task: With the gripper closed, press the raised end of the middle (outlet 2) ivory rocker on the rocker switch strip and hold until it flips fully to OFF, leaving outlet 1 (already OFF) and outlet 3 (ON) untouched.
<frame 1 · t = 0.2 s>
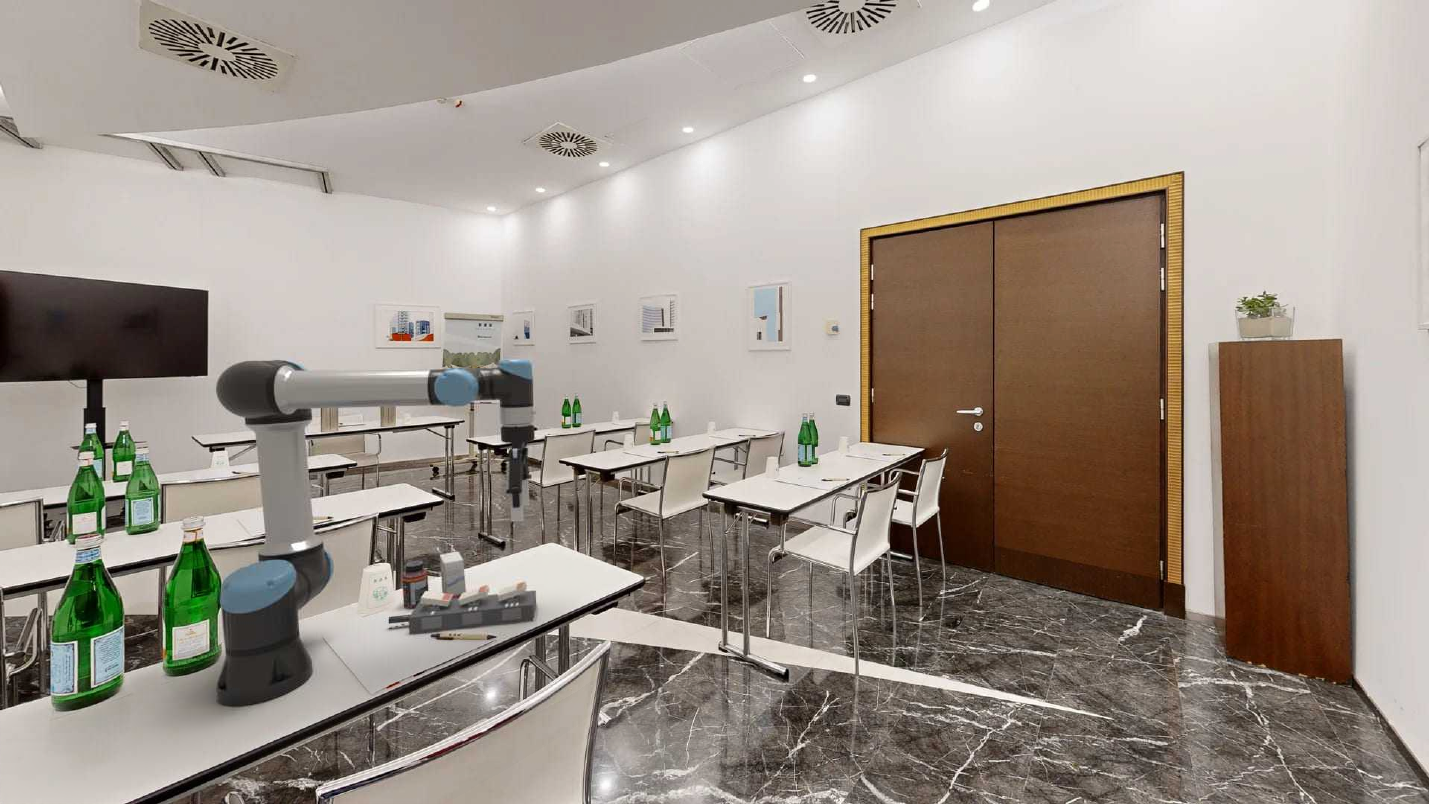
hand: (520, 513, 136), 28 cm above the table, fingers open, 13 cm apart
rocker switch strip: (476, 618, 142), on the table
rocker 3: (512, 591, 143), point 6 cm above the table, hinge at -14.0°
rocker 1: (436, 599, 139), point 6 cm above the table, hinge at 14.0°
rocker 2: (474, 595, 141), point 6 cm above the table, hinge at -14.0°
supplement bottle: (416, 605, 151), on the table
ink box: (454, 600, 154), on the table
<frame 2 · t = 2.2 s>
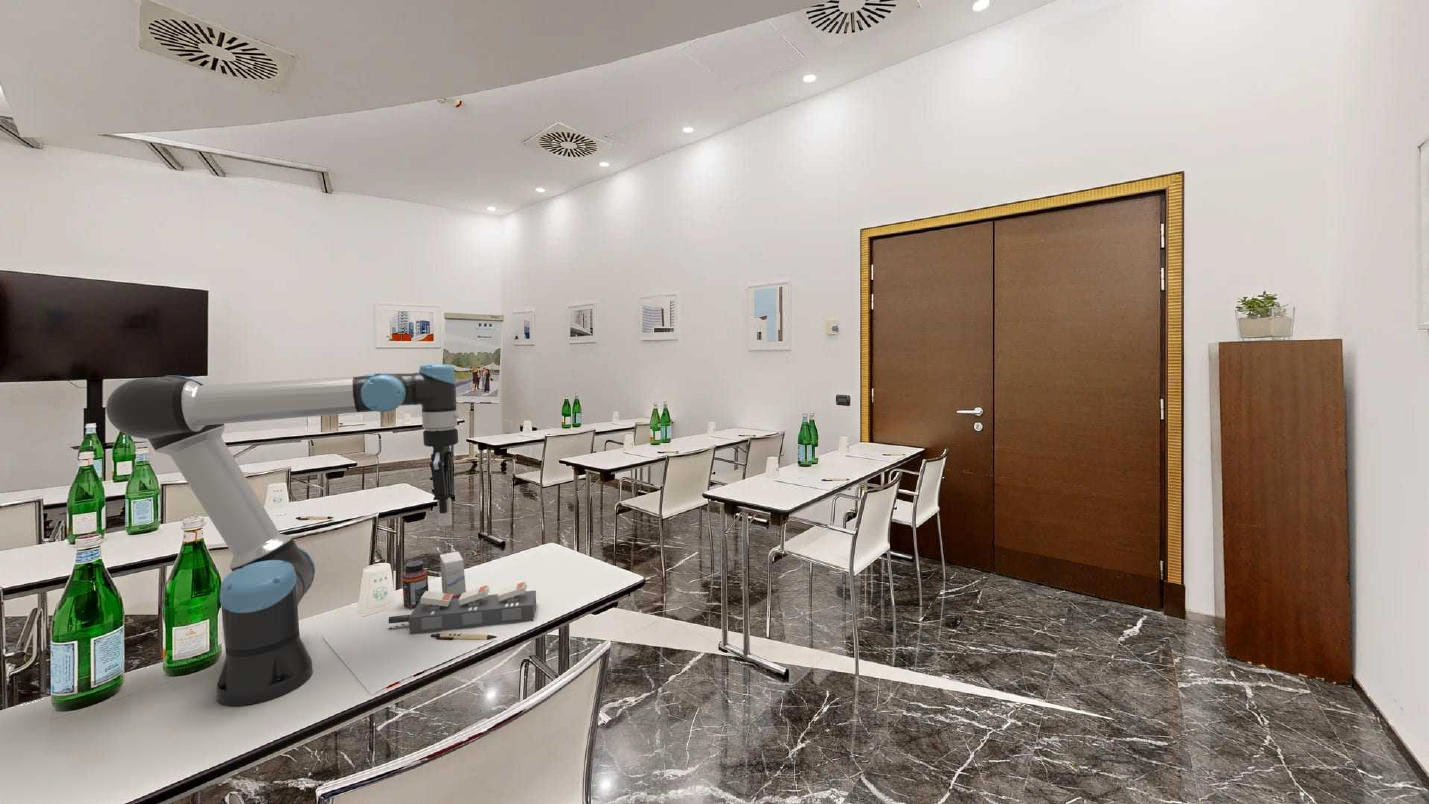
hand: (445, 524, 139), 24 cm above the table, fingers closed
nothing on the table moved.
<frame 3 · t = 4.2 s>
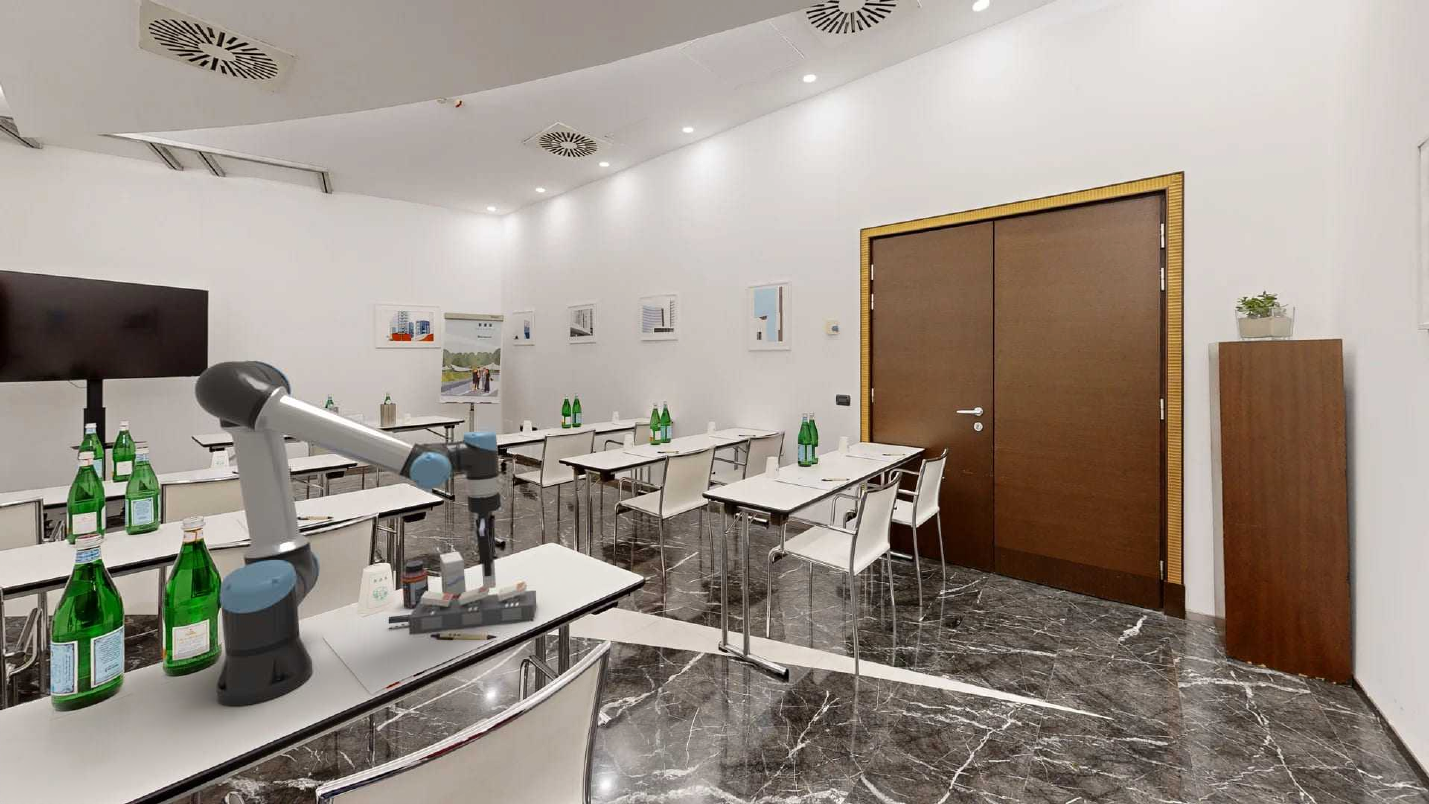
hand: (489, 586, 142), 8 cm above the table, fingers closed
rocker 2: (474, 595, 141), point 6 cm above the table, hinge at -13.1°, touching gripper
everything else where it was.
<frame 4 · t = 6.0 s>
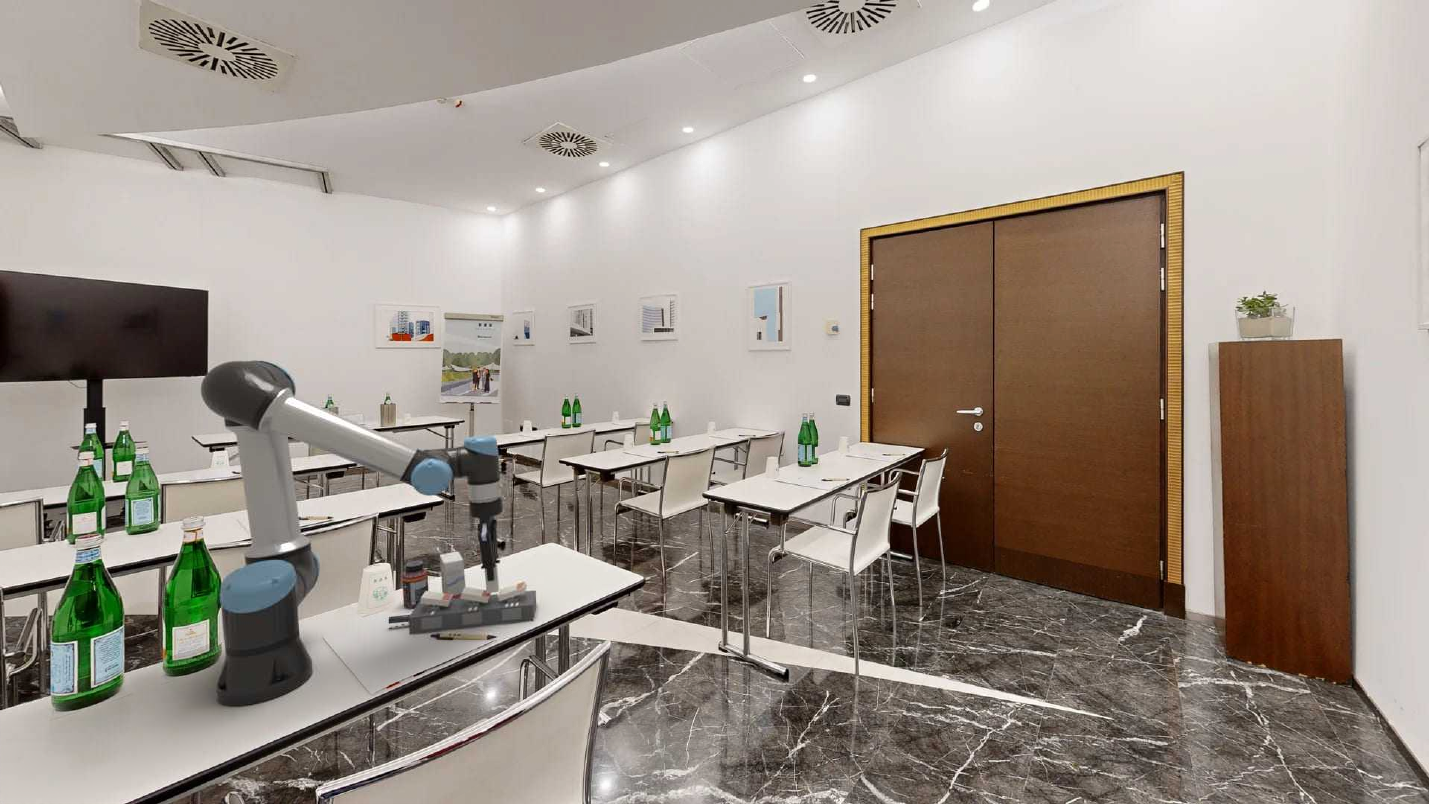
hand: (492, 591, 142), 7 cm above the table, fingers closed
rocker 2: (475, 595, 141), point 6 cm above the table, hinge at 16.9°, touching gripper
everything else where it was.
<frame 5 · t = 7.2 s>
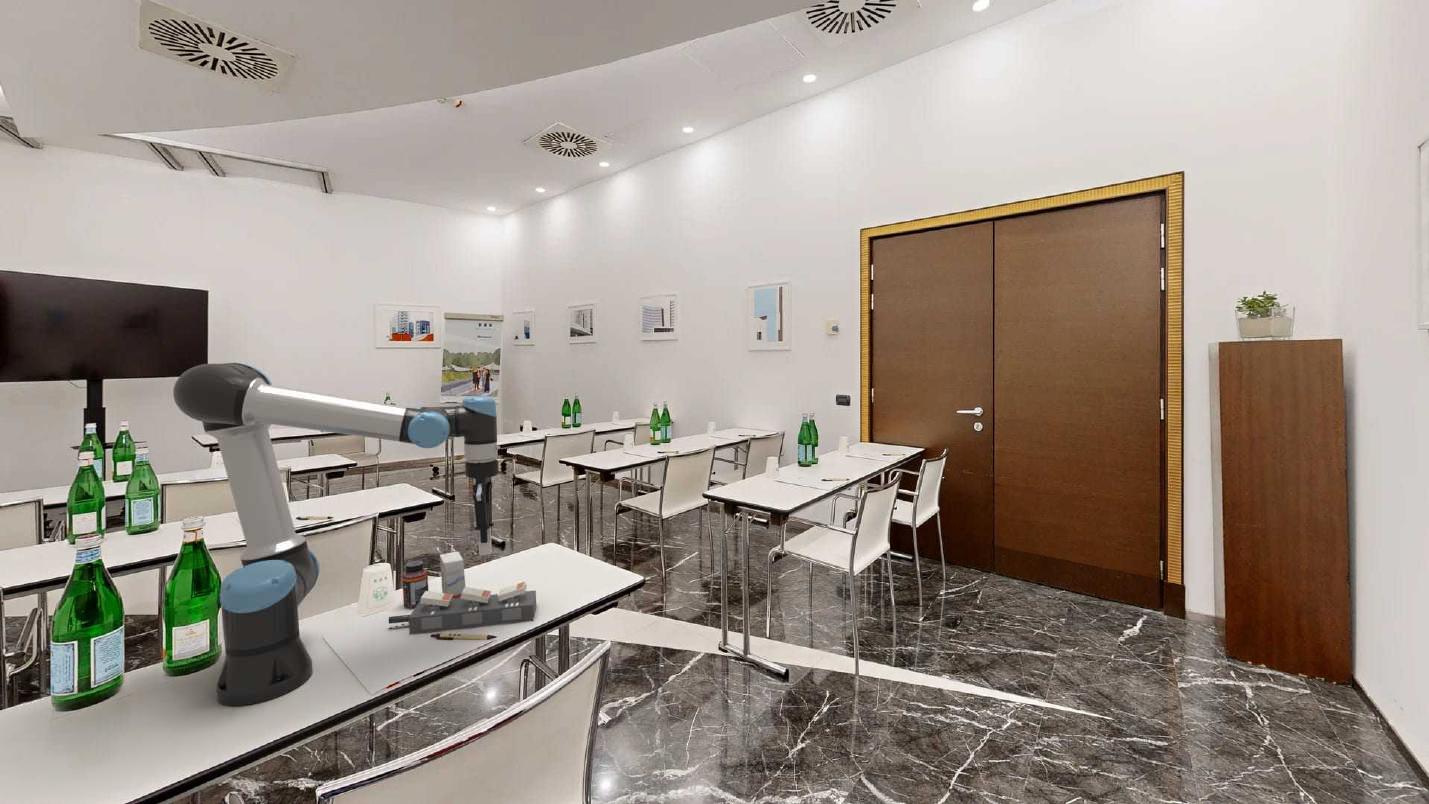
hand: (485, 553, 141), 16 cm above the table, fingers closed
rocker 2: (476, 595, 141), point 6 cm above the table, hinge at 17.3°
everything else where it was.
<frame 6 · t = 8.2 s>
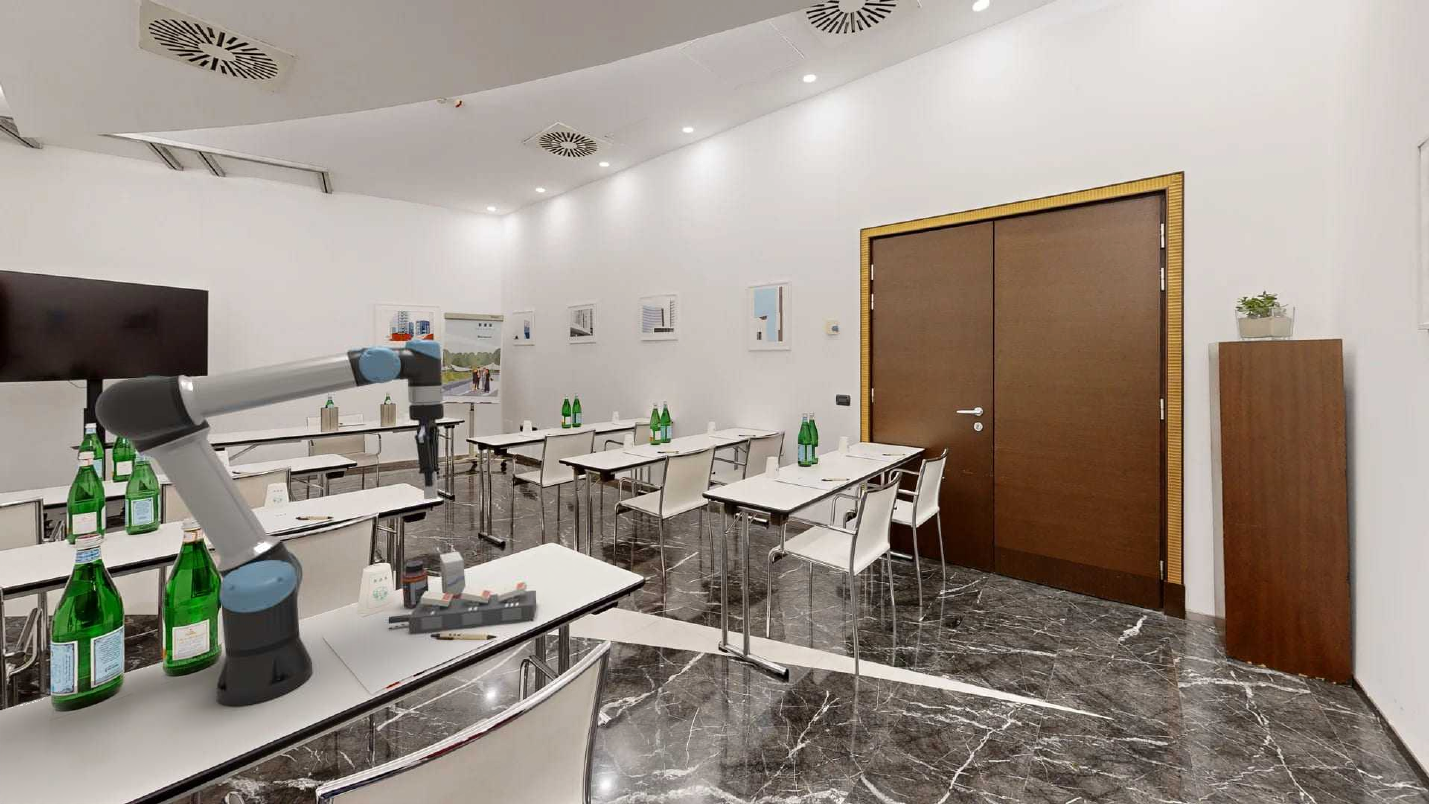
hand: (431, 498, 141), 30 cm above the table, fingers closed
nothing on the table moved.
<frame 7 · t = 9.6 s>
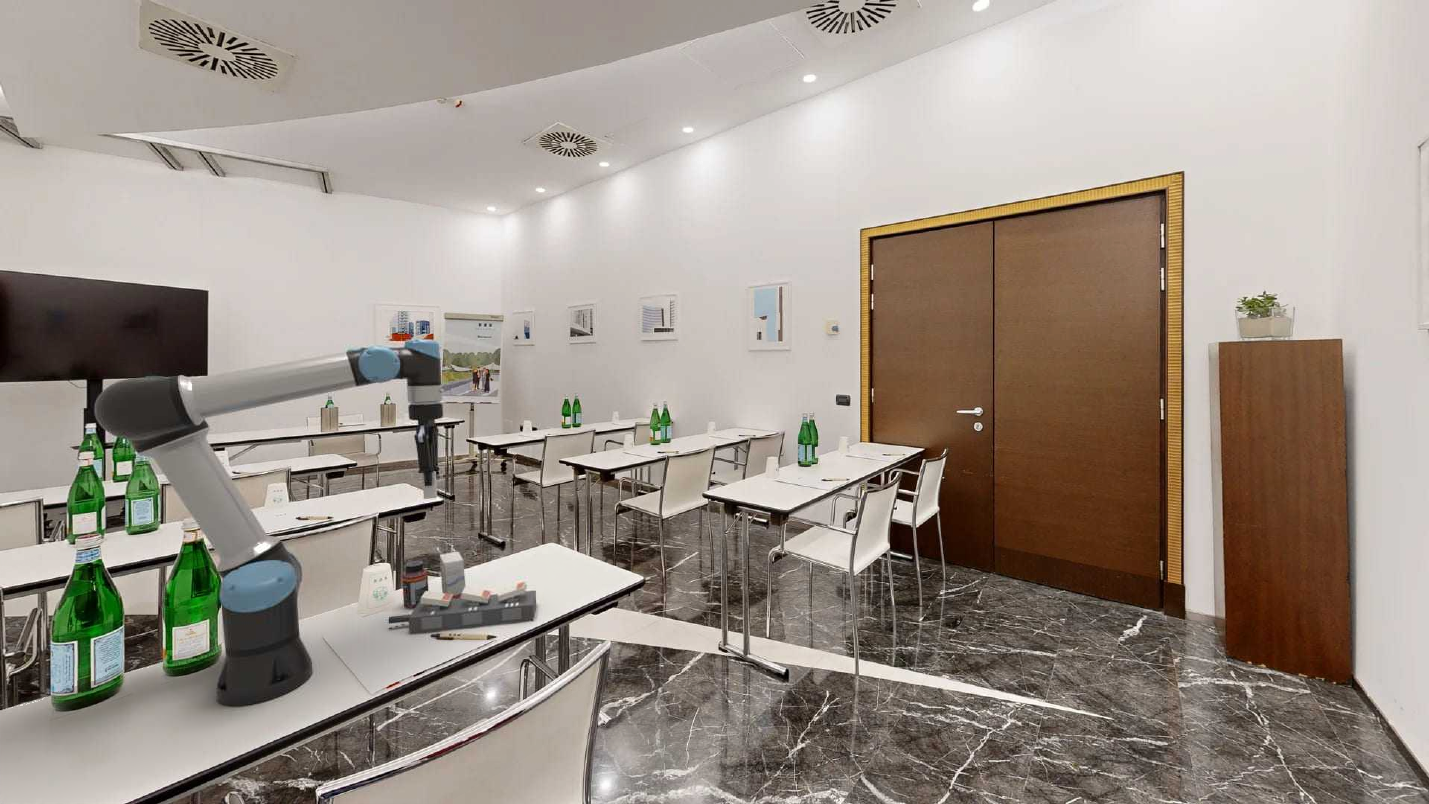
hand: (430, 497, 141), 30 cm above the table, fingers closed
nothing on the table moved.
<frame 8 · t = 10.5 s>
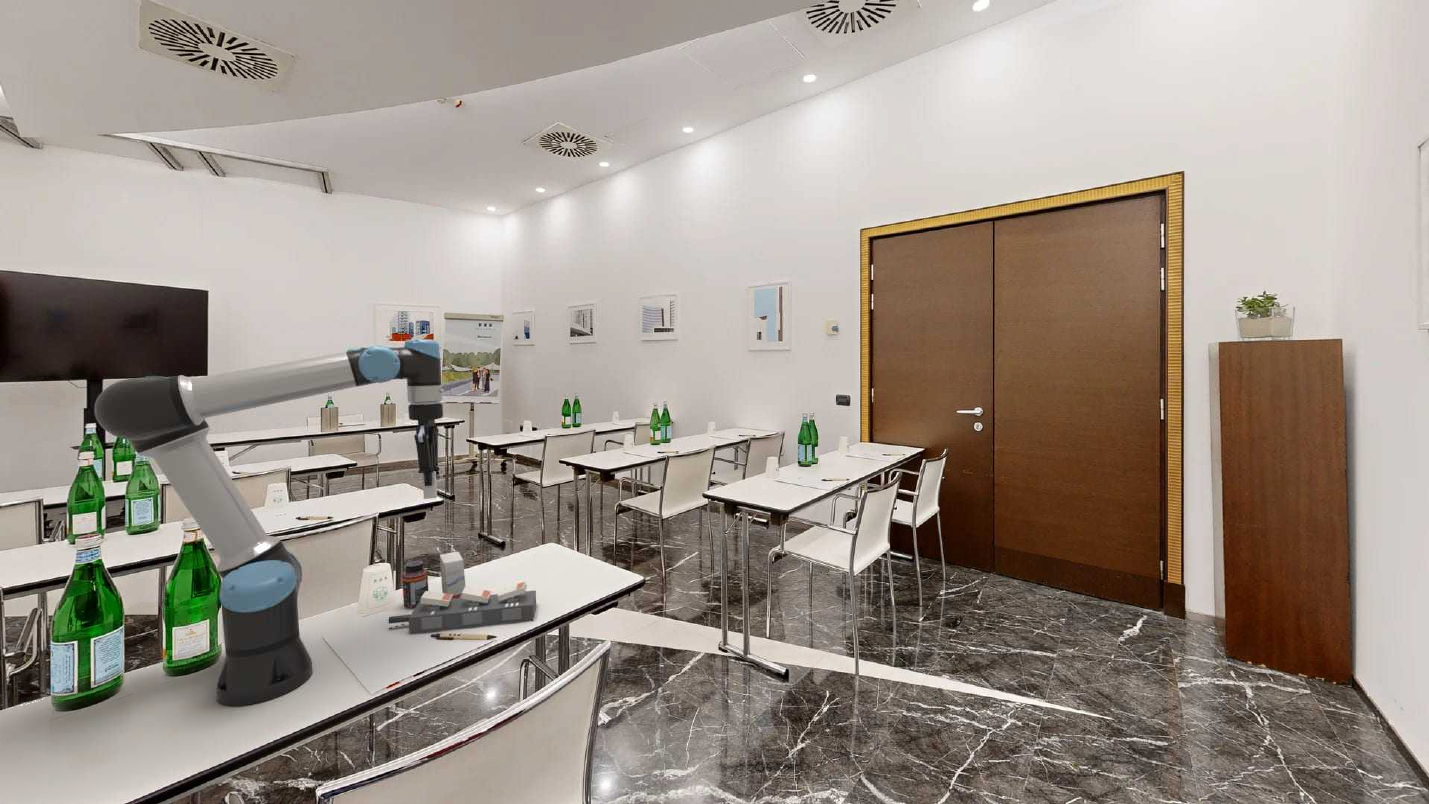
hand: (430, 497, 141), 30 cm above the table, fingers closed
nothing on the table moved.
at the end: rocker 2 at +18° (first picture: -14°); rocker 3 at -14° (first picture: -14°); rocker 1 at +14° (first picture: +14°) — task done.
